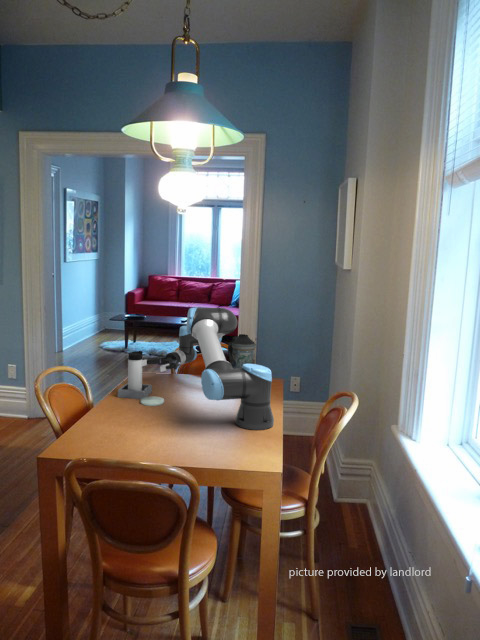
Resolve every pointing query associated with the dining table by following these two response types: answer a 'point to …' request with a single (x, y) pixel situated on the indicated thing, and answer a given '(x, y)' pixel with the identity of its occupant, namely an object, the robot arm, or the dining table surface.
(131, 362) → the travel mug
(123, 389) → the square frame
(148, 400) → the disc
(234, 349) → the beer stein
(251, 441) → the dining table surface
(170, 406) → the dining table surface
